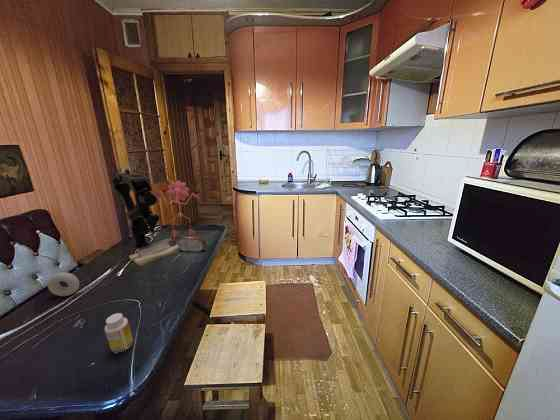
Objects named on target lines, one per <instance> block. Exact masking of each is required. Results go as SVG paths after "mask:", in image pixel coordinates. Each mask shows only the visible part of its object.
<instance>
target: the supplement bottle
mask: <svg viewBox="0 0 560 420" xmlns="http://www.w3.org/2000/svg"><path fill="white" fill-rule="evenodd" d="M105 324H106V325H105V326H104V333H105V336H106V339H107V342H108V344H109V349H110V351H111V352H112V353H113V352H114V354H119V353H118V352H121V353H123V352H125V351H127V350H128V349H129V348H130V347H132V345H133V342H134V339H133V338H134V337H133V335H132V334H133V333H132V330H131V326H130V324H129V321H128V318H126V317H124V316H123V313H121V312H116V313H113V314H112V315H110V316H108V317H107V318H106V320H105ZM126 349H127V350H126ZM124 350H125V351H124ZM122 351H123V352H122Z"/></svg>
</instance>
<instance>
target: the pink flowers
mask: <svg viewBox="0 0 560 420" xmlns="http://www.w3.org/2000/svg"><path fill="white" fill-rule="evenodd" d="M186 185H187V184H186V182H182V181H181V180H177V181H176V182H175V181H174V180H172V181H171V182H170V185H167V188H168V190H167V191H166V194H167V195H168V196H169V198H170V200H174V201H171V202H166V199H165V197H164V193H163V191H162V190H159V191H156V193H155V194H154V195H155V197H156V199H157V200H158V199H160V198H161V197H162V198H163V201H164V203H165V205H167V204H173V203H175V204H178V205H180V207H179V212H178V213H177V215H176V216H175V217H174V218H173V219H171V220H170V223H171V227H172V229H173V230H172V232H171V234H170V236H171V237H173V239H174V240H176V237H177V236H178V234H179V231H178V230H177V229H175V227H174V225H173V221H174V220H175V219H176V218H183V217H184V218H186V219H188V221H189V222H191V219H190V218H189V217H187V216H184V214H183V213H182V212H181V211H182V205H187V204H188V202H189V201H190V199H191V198H192V196H193V197H194V198H196V199H197V200H198V201H201V200H202V198H201V197H200V196H199V195H198V194H196V193H194V192H191V195H190V194H189V191H190V188H189V187H187V186H186ZM186 198H188V199H187V201H186ZM181 201H182V202H181ZM184 201H186V202H185V203H184ZM191 228H192V227H191V226H189V229H188V230H187V233H188V234H189V236H197V233H196V231H195V230H193V229H191Z"/></svg>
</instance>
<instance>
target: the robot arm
mask: <svg viewBox="0 0 560 420" xmlns="http://www.w3.org/2000/svg"><path fill="white" fill-rule="evenodd" d="M110 186H111V189H112V190H113V192H114V193H115V194H116V195H117V196H118V197H120V199H121V201H122V204H123V206H124V208H125V210H126V213H124V216H125V217H126V218H127V220H129V229H128V235H129V237H130V238H131V239H134V243H133V246H134V247H136V248H137V249H139V248H142V247H145V246H148V245H150V242H148V241H147V236H146V235H147V234H149V232H150V233H151V234H154V232H155V229H156V226H157V224H158V222H159V221H160V215H158V214H156V213H153V211H152V210H151V206H154V205H155V204H156V203H157V200H158V199H156V197H155V194H153V193H152V192H153V189H152V185H150V183H149V180H147V178H145V177H143V176H140V177H138V176H137V177H136V176H134V175H130V174H129V173H127V172H125V173H119V174H117V175H116V177H115V178H114V179H112V181H111V185H110ZM131 191H132V192H133V195H134V200H135V203H134V201H133V198H132V196H131V194H130V193H131Z"/></svg>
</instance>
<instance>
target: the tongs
mask: <svg viewBox="0 0 560 420" xmlns="http://www.w3.org/2000/svg"><path fill="white" fill-rule="evenodd" d="M175 244H177V240H176V239H175V240H174V238H172V237H169V238H166V239H162V240H159V241H158V242H153V243H151V244H148V245H145V246H142V247H139V248H137V253H138V254H139V257H141V258H143V257H146V256H149V255H151V254H154V253H156V252H159V251H162V250H164V249H167V248H170V247H172V246H174V245H175Z"/></svg>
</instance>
